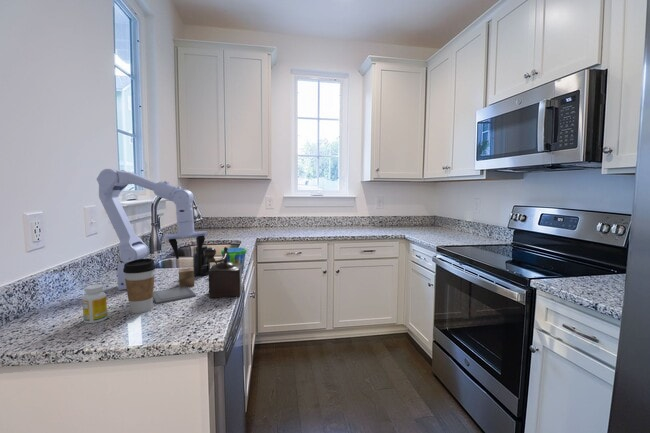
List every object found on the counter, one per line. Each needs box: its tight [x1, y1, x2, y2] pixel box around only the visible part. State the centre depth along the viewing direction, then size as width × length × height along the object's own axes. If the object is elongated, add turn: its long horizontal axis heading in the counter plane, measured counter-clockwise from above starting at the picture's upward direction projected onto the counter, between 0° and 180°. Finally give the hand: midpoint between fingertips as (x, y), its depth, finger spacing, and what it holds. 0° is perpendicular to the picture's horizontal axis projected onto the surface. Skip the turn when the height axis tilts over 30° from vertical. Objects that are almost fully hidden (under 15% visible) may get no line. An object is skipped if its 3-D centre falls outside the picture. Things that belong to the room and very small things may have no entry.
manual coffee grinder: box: [203, 246, 243, 299], centre depth 109 cm, size 16×11×18 cm
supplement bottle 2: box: [192, 245, 211, 277], centre depth 136 cm, size 7×7×12 cm
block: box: [178, 267, 195, 288], centre depth 121 cm, size 5×5×6 cm
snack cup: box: [220, 247, 247, 273], centre depth 139 cm, size 16×10×10 cm
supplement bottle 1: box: [82, 284, 108, 324], centre depth 89 cm, size 5×5×10 cm
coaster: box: [153, 286, 197, 305], centre depth 110 cm, size 12×12×1 cm
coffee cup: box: [123, 257, 156, 314], centre depth 96 cm, size 8×8×15 cm
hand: (188, 257), depth 120 cm, fingers open, 7 cm apart
